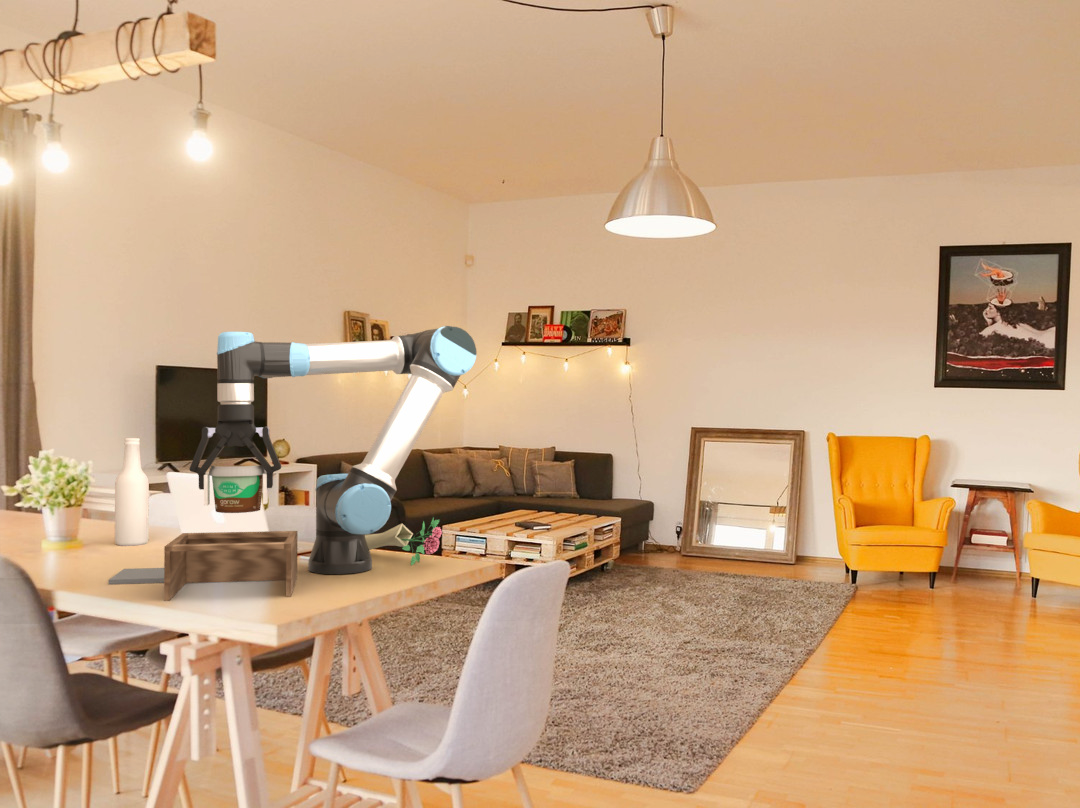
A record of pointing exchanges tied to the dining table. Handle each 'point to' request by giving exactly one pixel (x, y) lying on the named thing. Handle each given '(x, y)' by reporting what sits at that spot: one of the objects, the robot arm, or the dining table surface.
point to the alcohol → (131, 499)
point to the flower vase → (406, 539)
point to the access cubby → (230, 558)
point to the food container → (237, 488)
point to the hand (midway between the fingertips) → (236, 504)
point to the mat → (138, 576)
